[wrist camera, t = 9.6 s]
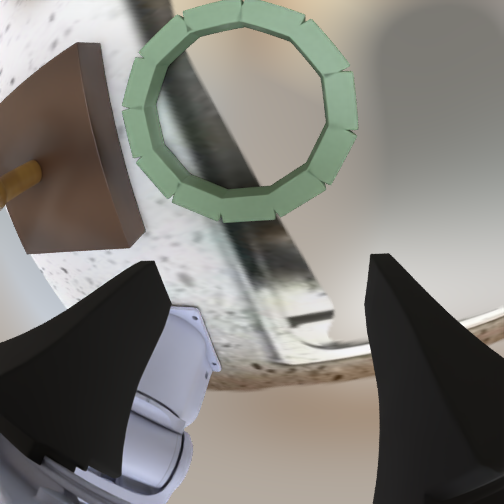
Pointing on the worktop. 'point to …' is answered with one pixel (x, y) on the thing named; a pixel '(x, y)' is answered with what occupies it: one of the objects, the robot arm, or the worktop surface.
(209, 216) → the ring
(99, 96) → the peg stand
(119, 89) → the worktop surface
